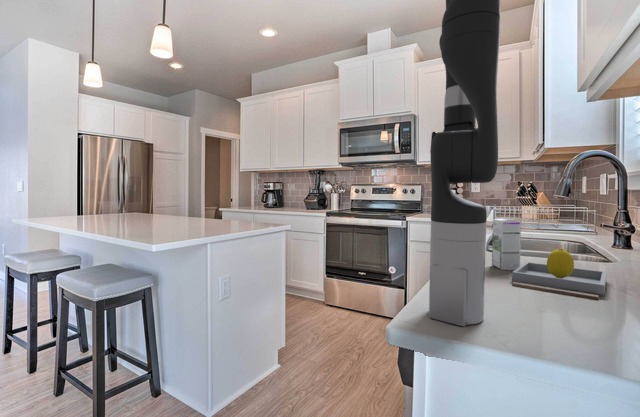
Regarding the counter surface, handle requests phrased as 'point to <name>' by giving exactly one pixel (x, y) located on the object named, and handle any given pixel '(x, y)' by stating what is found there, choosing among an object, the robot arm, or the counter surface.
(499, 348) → the counter surface
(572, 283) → the tray
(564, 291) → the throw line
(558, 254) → the lemon
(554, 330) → the counter surface
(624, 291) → the counter surface
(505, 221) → the syrup box
